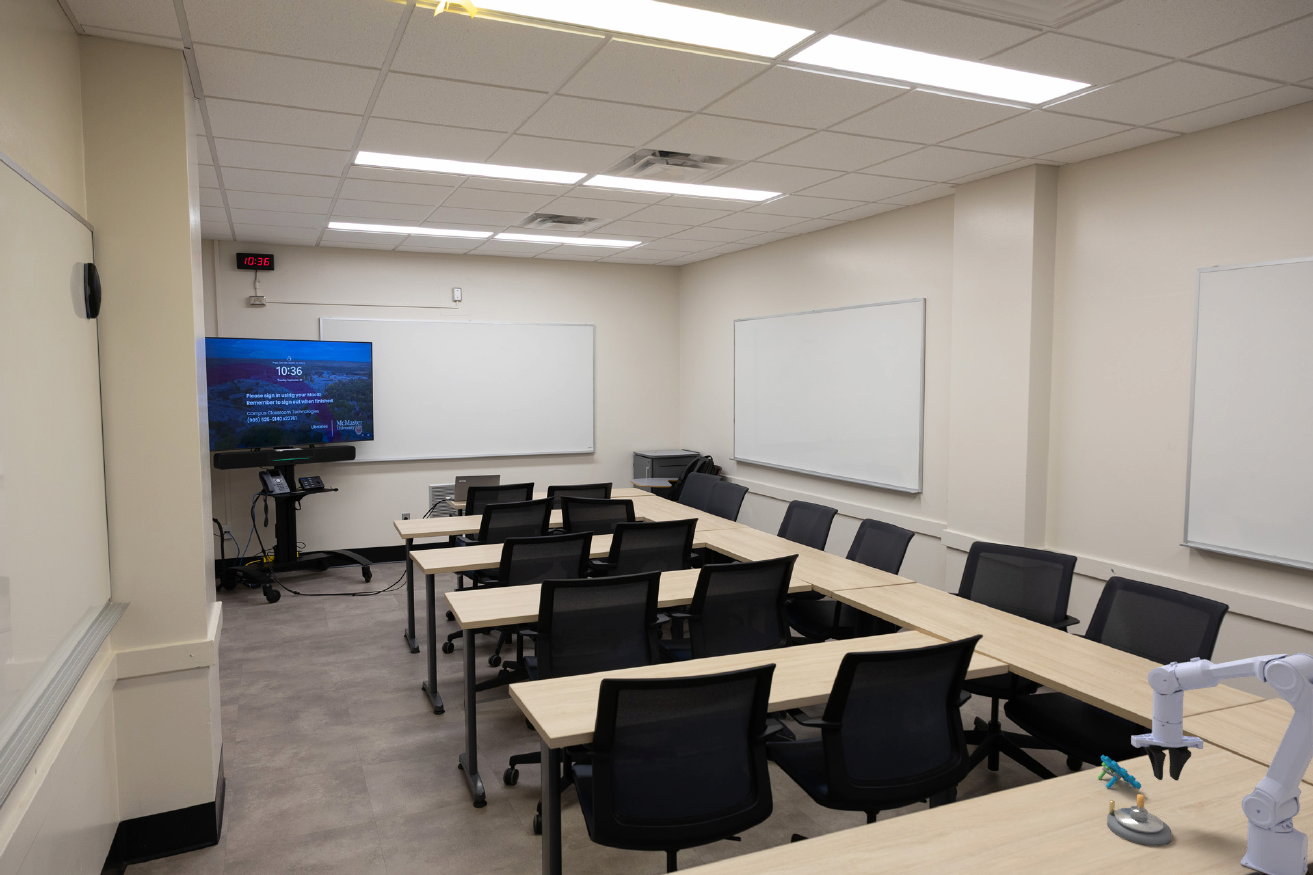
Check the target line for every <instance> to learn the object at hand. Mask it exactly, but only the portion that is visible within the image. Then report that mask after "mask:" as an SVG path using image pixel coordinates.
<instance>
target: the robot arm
mask: <svg viewBox="0 0 1313 875" xmlns="http://www.w3.org/2000/svg"><path fill="white" fill-rule="evenodd" d="M1189 660H1190V661H1187V662H1186V661H1185V662H1179V663H1178V662H1177V661H1173V662H1170V663H1169V664H1166V665H1163V666H1157V667H1154V668H1153V669H1151V670H1149V672H1148V674H1147V682H1148V684H1149V686H1150V687H1151V689H1152V718H1151V720H1152V724H1151V725H1152V727H1151V728H1152V729H1151V733H1145V734H1139V735H1131V738H1130V740H1131V741H1130V742H1131V743H1130V744H1131V745H1132V746H1133V747H1135V748H1137V749H1138V748H1140V749H1141V747H1143V748H1144V750H1145V752H1146V754H1147V756H1148V758H1149V761H1150V764H1151V768H1152V772H1153V777H1155V778H1156V779H1157V780H1158V781H1163V777H1164V765H1165V761H1166V757H1167V754H1166V753H1165V752H1164V751H1163V748H1167V750H1168V757H1169V777H1170V778H1171V779H1173V780H1174V781H1179V779H1180V776H1181V774H1182V771H1183V768H1184V766H1185V765H1186V763H1187V762H1188V761H1189V759H1190V758H1191V757H1192V751H1190V750H1189V748H1193V749H1194V748H1196V749H1198V750H1204V740H1203V739H1201V738H1200V737H1197V736H1187V735H1183V734H1184V733H1183V732H1184V731H1183V729H1184V728H1183V727H1184V722H1183V721H1184V696H1185V691H1192V690H1193V691H1194V690H1201V689H1207V688H1215V687H1217V686H1218V685H1219V684H1220V682H1221V680H1228V679H1237V678H1247V677H1248V678H1249V677H1255V678H1256V679H1258V680H1259V681H1260V682H1261V683H1264V684H1265V683H1268V684H1269V685H1270V686H1271V688H1273V689H1274V691H1276V692H1277V693H1278V694H1279V695H1280V696H1281V697H1282V698H1283V699H1284V700H1285V701H1286V702H1288V704H1290V705H1291V707H1292V709H1293V710H1294V713H1293V715H1292V717H1291V720H1290V722H1289V724H1288V726H1287V728H1286V730H1285V732H1284V734H1283V736H1282V739H1281V741H1280V744H1279V746H1278V747H1277V750H1276V752H1275V754H1274V756H1273V758H1272V760H1271V763H1270V765H1269V767H1268V768H1267V771H1266V774H1265V776H1264V777H1263V778H1262V779H1261V780H1260V781H1259V782H1258V783H1257V784H1256V785H1255V787H1254V788H1253V791H1252V792H1250V793H1249V794H1246V795H1245V796H1243V798H1242V800H1241V809H1242V811H1243V813H1244V815H1245V817H1246V818H1247V838H1246V839H1247V840H1246V841H1247V843H1246V845H1247V846H1246V853H1244V856H1243V857H1242V858H1241V860H1240V865H1242V866H1244V867H1247V868H1250V869H1253V870H1255V871H1257V872H1260V873H1263V874H1267V875H1306V874H1307V872H1308V870H1309V869H1308V851H1309V848H1308V847H1309V846H1308V845H1309V843H1308V842H1309V840H1308V834H1306V833H1305V832H1302V831H1300V830H1298V829H1296V828H1295V827H1294V822H1293V819H1294V817H1295V816H1297V815H1298V814H1299V813H1300V811H1301V803H1300V797H1301V794H1302V790H1301V788H1299V787H1300V784H1301V782H1302V780H1303V778H1304V776H1305V774H1306V772H1307V769H1308V768H1309V765H1310V763H1311V761H1312V759H1313V655H1311V654H1308V653H1306V652H1305V653H1303V652H1298V653H1293V654H1292V655H1290V656H1289V653H1280V654H1268V655H1267V654H1266V655H1258V656H1252V657H1248V658H1247V657H1246V658H1243V659H1237V660H1231V661H1228V662H1221V663H1213V662H1212V661H1210V660H1208V659H1205V658H1204V659H1201V658H1200V657H1199V656H1198V657H1193V658H1190V659H1189Z"/></svg>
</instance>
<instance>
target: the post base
mask: <svg viewBox="0 0 1313 875" xmlns="http://www.w3.org/2000/svg"><path fill="white" fill-rule="evenodd" d="M1115 808H1116V805H1115V800H1112V799H1109V810H1108V811H1109V812H1108V814H1107V816H1106V819H1107V820H1106V825H1107V828H1108V829H1109V830H1110V831H1111V832H1112V833H1113V834H1115V835H1116V836H1117V837H1120V838H1122V839H1124V840H1126V841H1129V842H1131V843H1135V844H1138V845H1143V846H1147V847H1148V846H1149V847H1160V846H1162V845H1163V846H1166V845H1168V844H1170V843H1171V842H1172V829H1171V827H1170V826H1169V825H1168V824H1167V823H1166V822H1164V821H1163V820H1161V821H1162V822H1163V830H1162V831H1161V832H1159V833H1142V832H1138V831H1134V830H1131V829H1129V828H1127V827H1125V826H1123V825H1121V824H1120V823H1119V822H1118V821H1117V820H1116V819H1115V812H1116V811H1117V810H1118V809H1116V810H1115ZM1170 841H1171V842H1170ZM1169 842H1170V843H1169ZM1165 844H1166V845H1165Z"/></svg>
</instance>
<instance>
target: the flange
mask: <svg viewBox="0 0 1313 875" xmlns="http://www.w3.org/2000/svg"><path fill="white" fill-rule="evenodd" d="M1116 810H1117V811H1116V812H1115V819H1116V820H1117V821H1118V822H1119V823H1120V824H1121V825H1123V826H1125V827H1127V828H1129V829H1131V830H1134V831H1138V832H1142V833H1159V832H1161V831H1162V830H1163V822H1164V821H1163V820H1162V819H1161V818H1160V817H1158V816H1157V815H1155V814H1153V813H1151V812H1149V811H1148V810H1147V808H1146V807H1145V795H1144V794H1139V793H1137V794H1136V805H1133V806H1132V805H1131V806H1130V807H1121V808H1119V809H1116ZM1162 821H1163V822H1162Z"/></svg>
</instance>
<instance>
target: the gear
mask: <svg viewBox="0 0 1313 875" xmlns="http://www.w3.org/2000/svg"><path fill="white" fill-rule="evenodd" d="M1100 760H1101V762H1102V763H1101V765H1102V772H1101V773H1100V774H1099V775H1098V776H1097V779H1098V780H1100V781H1101V779H1102V778H1103V777H1105V775H1106V774H1107V775H1109V776H1110V777H1112V778H1111V779H1110V780H1109V781H1108V782H1107V784H1106V785H1105V787H1107V788H1108V789H1111V788H1112V787H1113V785H1114V784H1116V783H1117V781H1120V780H1121V779H1122V780H1123V781H1124V782H1125V783H1127V784H1130V785H1131V786H1132V787H1133V788H1135V789H1138V790H1141V788H1142V784H1141V783H1140V782H1139V781H1137V778H1135V776H1133V775H1132V774H1129V773H1128V770H1127V769H1126V768H1124V767H1122V766H1121V765H1119V764H1118V762H1116V761H1115V760H1112V759H1111V758H1110V757H1109V756H1105V755H1104V754H1102V755H1101V756H1100Z"/></svg>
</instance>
